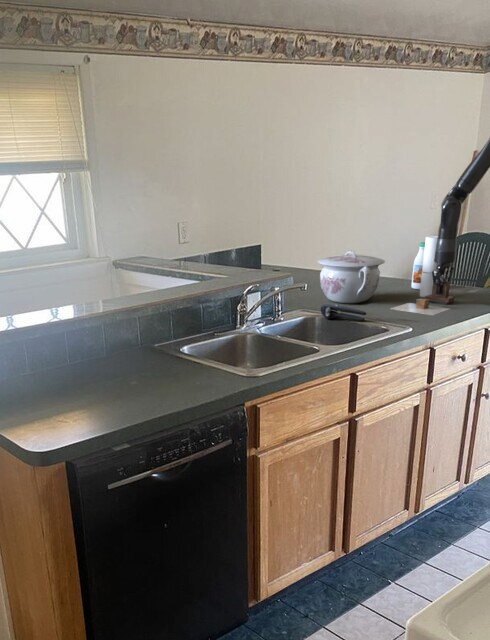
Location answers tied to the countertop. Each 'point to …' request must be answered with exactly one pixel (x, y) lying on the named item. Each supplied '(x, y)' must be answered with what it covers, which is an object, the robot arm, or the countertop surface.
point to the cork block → (422, 303)
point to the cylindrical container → (428, 266)
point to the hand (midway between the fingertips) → (440, 293)
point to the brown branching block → (442, 298)
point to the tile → (412, 308)
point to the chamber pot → (349, 277)
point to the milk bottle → (418, 267)
